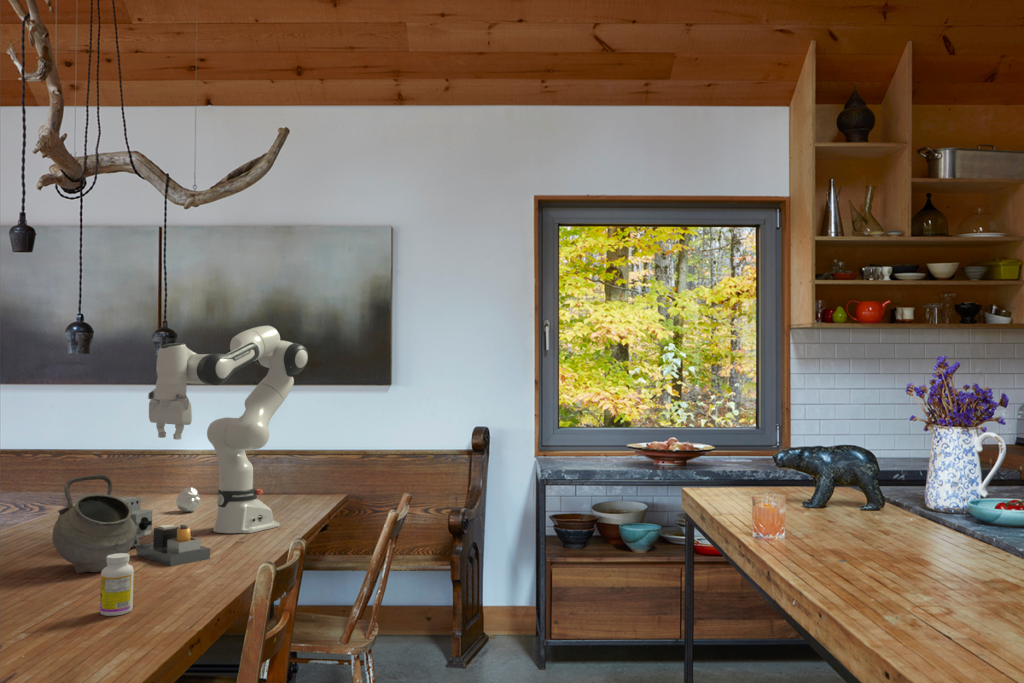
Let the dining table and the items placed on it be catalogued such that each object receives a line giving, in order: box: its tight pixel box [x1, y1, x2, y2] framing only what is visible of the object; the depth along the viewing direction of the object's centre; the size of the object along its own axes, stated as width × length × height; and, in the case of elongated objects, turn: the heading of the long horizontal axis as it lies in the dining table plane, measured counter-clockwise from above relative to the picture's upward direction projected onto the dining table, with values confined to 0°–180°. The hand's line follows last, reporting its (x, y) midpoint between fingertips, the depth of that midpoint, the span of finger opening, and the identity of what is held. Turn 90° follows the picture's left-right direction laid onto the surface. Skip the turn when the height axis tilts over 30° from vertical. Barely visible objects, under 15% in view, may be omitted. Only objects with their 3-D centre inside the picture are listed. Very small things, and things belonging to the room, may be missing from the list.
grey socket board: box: [136, 526, 211, 567], centre depth 226 cm, size 12×20×8 cm, turn 52°
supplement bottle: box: [99, 552, 135, 617], centre depth 173 cm, size 7×7×13 cm
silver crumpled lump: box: [175, 486, 202, 513], centre depth 299 cm, size 9×9×10 cm
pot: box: [51, 473, 136, 574], centre depth 213 cm, size 21×21×25 cm
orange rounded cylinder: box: [177, 524, 192, 542], centre depth 222 cm, size 4×4×7 cm
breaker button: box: [157, 524, 177, 530], centre depth 228 cm, size 4×4×5 cm
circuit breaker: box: [117, 496, 153, 548], centre depth 237 cm, size 8×14×15 cm, turn 78°
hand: (169, 438), depth 238 cm, fingers open, 8 cm apart
